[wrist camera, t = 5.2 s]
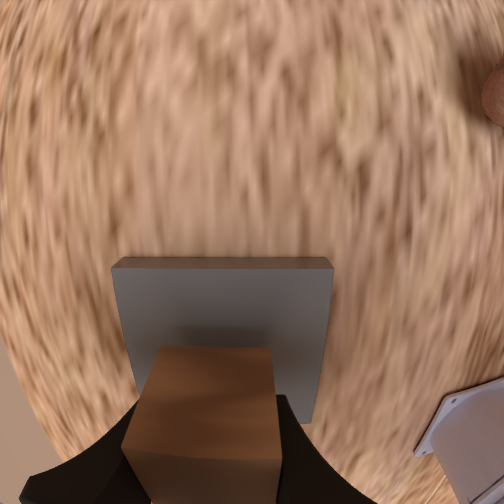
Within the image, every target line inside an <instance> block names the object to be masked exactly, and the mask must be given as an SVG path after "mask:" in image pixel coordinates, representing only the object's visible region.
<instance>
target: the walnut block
mask: <svg viewBox="0 0 504 504" xmlns="http://www.w3.org/2000/svg"><path fill="white" fill-rule="evenodd" d="M121 448H122V450H123V452H124V454H125V456H126V458H127V460H128V462H129V464H130V466H131V467H132V469H133V471H134V473H135V475H136V476H137V478H138V480H139V482H140V483H141V485H142V487H143V488H144V490H145V492H146V493H147V495H148V496H149V498H150V500H151V501H152V503H153V504H275V503H276V497H277V490H278V484H279V478H280V471H281V465H282V450H281V440H280V430H279V421H278V411H277V401H276V392H275V383H274V373H273V364H272V355H271V347H200V346H177V345H161V347H160V349H159V352H158V354H157V356H156V359H155V361H154V364H153V366H152V368H151V371H150V373H149V376H148V378H147V381H146V383H145V386H144V388H143V391H142V393H141V396H140V398H139V401H138V403H137V406H136V408H135V411H134V413H133V416H132V418H131V421H130V424H129V426H128V429H127V432H126V434H125V437H124V440H123V442H122V445H121Z"/></svg>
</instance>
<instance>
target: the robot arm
mask: <svg viewBox="0 0 504 504" xmlns="http://www.w3.org/2000/svg"><path fill="white" fill-rule="evenodd" d="M138 401H139V400H138ZM138 401H137V402H136V403H135V404H134V405H133V406H132V408H131V409H130V410H129V411H128V412H127V413H126V414H125V415H124V416H123V417H122V418H121V420H120V421H119V422H118V423H117V424H116V425H115V426H114V427H112V428H111V429H110V430H109V431H108V432H107V433H106V434H105V435H104V436H103V437H102V438H100V439H99V440H98V441H97V442H96V443H94V444H93V445H92V446H90V447H89V448H88V449H86V450H85V451H83V452H82V453H80V454H79V455H77V456H75V457H74V458H72V459H70V460H69V461H67V462H65V463H63V464H61V465H59V466H57V467H55V468H52V469H50V470H48V471H45V472H42V473H39V474H36V475H34V476H30V477H29V479H28V480H27V482H26V484H25V486H24V488H23V490H22V493H21V495H20V497H19V500H20V502H21V503H22V504H151V500H150V498H149V496H148V495H147V493H146V492H145V490H144V488H143V487H142V485H141V483H140V482H139V480H138V478H137V476H136V475H135V473H134V471H133V469H132V467H131V466H130V464H129V462H128V460H127V458H126V456H125V454H124V452H123V450H122V448H121V445H122V442H123V440H124V437H125V434H126V432H127V429H128V426H129V424H130V421H131V418H132V416H133V413H134V411H135V408H136V406H137V403H138ZM276 401H277V411H278V421H279V430H280V440H281V450H282V465H281V471H280V478H279V484H278V490H277V497H276V504H377V503H376V502H374V501H372V500H371V499H369V498H368V497H366V496H365V495H364V494H362V493H361V492H360V491H358V490H357V489H356V488H354V487H353V486H352V485H351V484H349V483H348V482H347V481H346V480H345V479H344V478H343V477H341V476H340V475H339V474H338V473H337V472H336V471H335V470H334V469H333V468H332V467H331V466H330V465H329V464H328V462H327V461H326V460H325V459H324V458H323V457H322V456H321V454H320V453H319V452H318V451H317V449H316V448H315V447H314V445H313V444H312V443H311V441H310V440H309V438H308V437H307V435H306V434H305V432H304V430H303V429H302V427H301V426H300V424H299V422H298V420H297V419H296V417H295V415H294V413H293V411H292V409H291V407H290V404H289V402H288V399H287V396H286V395H284V394H276ZM432 452H435V454H436V456H437V458H438V460H439V462H440V464H441V466H442V468H443V470H444V472H445V474H446V476H447V478H448V480H449V482H450V484H451V486H452V489H453V491H454V493H455V495H456V497H457V499H458V501H459V504H504V377H502V378H500V379H497V380H494V381H491V382H489V383H486V384H483V385H480V386H477V387H474V388H471V389H468V390H464V391H461V392H458V393H454V394H451V395H448V396H446V397H445V398H444V399H443V401H442V403H441V405H440V407H439V409H438V411H437V413H436V415H435V417H434V419H433V421H432V422H431V424H430V426H429V428H428V430H427V431H426V433H425V435H424V437H423V438H422V440H421V442H420V444H419V445H418V447H417V449H416V450H415V452H414V456H415V457H419V456H423V455H426V454H429V453H432ZM0 504H2V503H1V502H0Z"/></svg>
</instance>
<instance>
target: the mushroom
mask: <svg viewBox="0 0 504 504" xmlns="http://www.w3.org/2000/svg"><path fill="white" fill-rule="evenodd" d="M481 101H482V102H481V103H482V107H483V109H484V112H485V114H486V115H487V116H488V117H489V118H490V119H491V120H492V121H493V122H494V123H495V124H496V125H498V126H500V127H501V128H503V129H504V55H503V57H502V58H501V60H500V62H499V63H498V64H497V65H496V67H495V68H494V70H493V71H492V72H491V74H489V76H488V78H487V80H486V82H485V84H484V85H483V89H482V94H481Z"/></svg>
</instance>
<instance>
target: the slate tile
mask: <svg viewBox="0 0 504 504" xmlns="http://www.w3.org/2000/svg"><path fill="white" fill-rule="evenodd" d="M111 271H112V278H113V284H114V290H115V295H116V301H117V306H118V311H119V316H120V321H121V326H122V330H123V335H124V339H125V343H126V347H127V352H128V356H129V359H130V363H131V367H132V371H133V375H134V378H135V382H136V385H137V389H138V392H139V395H140V396H141V393H142V391H143V388H144V386H145V383H146V381H147V378H148V376H149V373H150V371H151V368H152V366H153V364H154V361H155V359H156V356H157V354H158V352H159V349H160V347H161V345H177V346H200V347H271V355H272V364H273V373H274V383H275V392H276V394H284V395H286V396H287V399H288V402H289V404H290V407H291V409H292V411H293V413H294V415H295V417H296V419H297V420H298V422H299V424H307V423H311V421H312V416H313V411H314V406H315V400H316V395H317V390H318V384H319V378H320V372H321V366H322V360H323V354H324V347H325V340H326V333H327V326H328V318H329V311H330V302H331V294H332V285H333V275H334V268H333V266H332V265H331V264H330V262H329V261H328V259H327V258H131V257H123V258H122V259H120V260H119V261H118V262H117V263H116V264H115V265H114V266H112V267H111Z"/></svg>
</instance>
